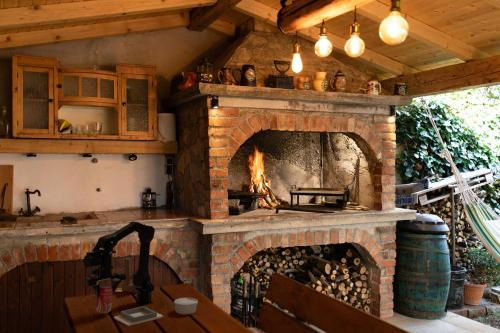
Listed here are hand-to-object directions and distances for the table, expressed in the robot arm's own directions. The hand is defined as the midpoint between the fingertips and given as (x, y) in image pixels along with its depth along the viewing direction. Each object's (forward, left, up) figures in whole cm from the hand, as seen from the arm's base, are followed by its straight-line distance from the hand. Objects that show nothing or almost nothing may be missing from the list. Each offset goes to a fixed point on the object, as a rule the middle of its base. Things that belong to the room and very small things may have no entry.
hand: (105, 296), depth 214 cm
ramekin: (-32, +20, -9) cm, 39 cm away
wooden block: (-29, -27, -9) cm, 41 cm away
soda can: (+1, 0, -7) cm, 7 cm away
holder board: (-10, +14, -9) cm, 19 cm away
